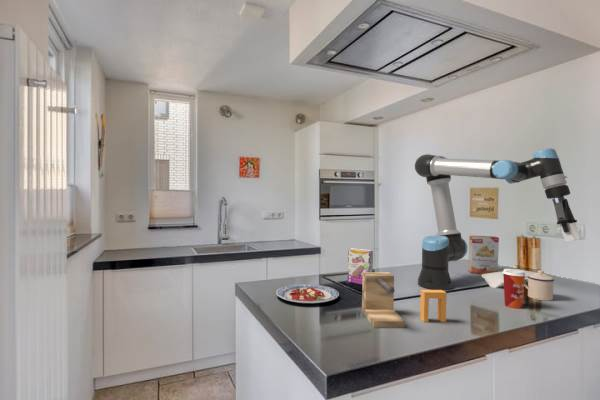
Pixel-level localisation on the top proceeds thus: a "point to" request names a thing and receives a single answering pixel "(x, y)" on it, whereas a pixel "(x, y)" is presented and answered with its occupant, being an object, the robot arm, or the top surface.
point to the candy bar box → (359, 264)
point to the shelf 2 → (499, 278)
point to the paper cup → (513, 287)
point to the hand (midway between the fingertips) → (573, 240)
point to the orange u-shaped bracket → (425, 304)
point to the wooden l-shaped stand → (380, 300)
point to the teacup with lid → (540, 286)
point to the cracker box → (483, 254)
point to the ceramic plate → (307, 293)
